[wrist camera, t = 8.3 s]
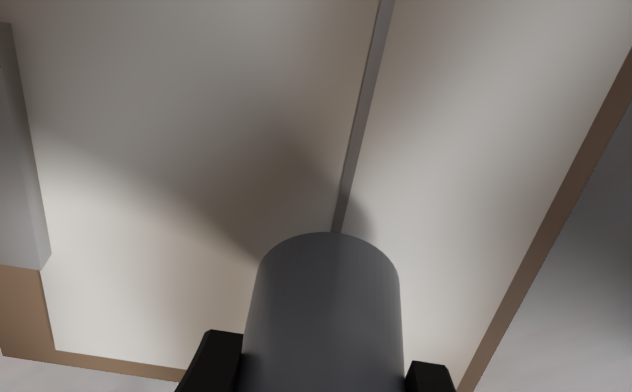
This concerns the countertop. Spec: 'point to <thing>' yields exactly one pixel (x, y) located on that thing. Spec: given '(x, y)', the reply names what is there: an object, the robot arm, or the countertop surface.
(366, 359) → the cylinder
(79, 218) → the clipboard
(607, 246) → the countertop surface
